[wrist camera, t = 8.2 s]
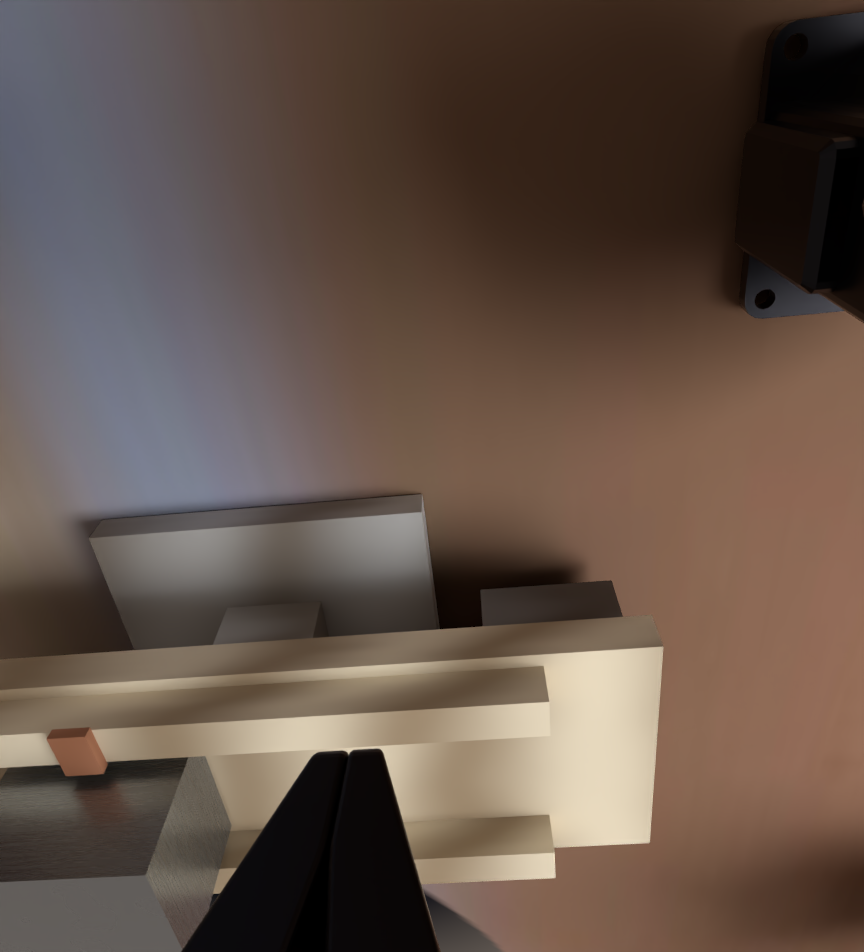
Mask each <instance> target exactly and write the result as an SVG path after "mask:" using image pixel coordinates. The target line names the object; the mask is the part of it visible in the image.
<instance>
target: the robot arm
mask: <svg viewBox="0 0 864 952" xmlns="http://www.w3.org/2000/svg"><path fill="white" fill-rule="evenodd" d="M794 34H796V35H797V36H798V37H799V38H800V44H801V46H800V49H799V52H798V53H797V55H796V56H795V57H794V58H792V59H790V60H788V59H787V58H786V56H785V55H784V46H785V43H786V41H787V40H788V39H789V37H790V36H791V35H794ZM735 243H736V244H737V245H738V246H739V247H740V248H741V249H742V250H743V251H744V255H743V265H742V274H741V284H740V293H739V300H740V305H741V306H742V308H743V309H744V310H745V311H746V312H747V313H748V314H749V315H751V316H753V317H755V318H762V319H763V318H774V317H784V316H795V315H806V314H817V313H827V312H838V311H846V312H847V313H849V314H851V315H852V316H854V317H855V318H857V319H858V320H860V321H861V322H863V323H864V12H858V13H849V14H841V15H832V16H824V17H816V18H807V19H799V20H791V21H788V22H785V23H782V24H781V25H780V26H779V27H777V28H776V29H775V30H774V31H773V32H772V34H771V36H770V37H769V39H768V41H767V45H766V48H765V55H764V65H763V74H762V84H761V93H760V103H759V112H758V122H755V123H754V124H753V125H752V126H751V128H750V129H749V130H748V131H747V132H746V134H745V138H744V149H743V159H742V169H741V179H740V189H739V200H738V210H737V220H736V230H735ZM765 289H769V293H770V294H769V296H768V299H767V300H766V301H765V302H764V303H761V304H758V305H757V304H755V301H754V300H755V297H756V295H757V294H758V293H759V292H760V291H762V290H765ZM181 952H441V951H440V948H439V944H438V941H437V937H436V934H435V930H434V927H433V923H432V920H431V917H430V913H429V909H428V906H427V902H426V899H425V895H424V892H423V888H422V885H421V882H420V878H419V875H418V871H417V868H416V864H415V861H414V857H413V854H412V850H411V847H410V843H409V840H408V836H407V833H406V829H405V826H404V822H403V819H402V815H401V812H400V808H399V805H398V802H397V798H396V795H395V791H394V788H393V784H392V781H391V777H390V774H389V770H388V767H387V763H386V760H385V756H384V753H383V751H382V750H381V749H378V748H374V749H357V750H352V751H351V752H350V753H349V754H348V753H347V752H346V751H343V750H340V751H323V752H317V753H316V754H314V755H313V756H312V757H311V758H310V760H309V761H308V763H307V764H306V766H305V767H304V769H303V770H302V771H301V773H300V774H299V776H298V777H297V779H296V780H295V782H294V783H293V785H292V786H291V788H290V789H289V791H288V792H287V794H286V795H285V797H284V798H283V800H282V801H281V803H280V804H279V806H278V807H277V809H276V810H275V812H274V813H273V815H272V816H271V818H270V819H269V821H268V822H267V824H266V825H265V827H264V828H263V830H262V831H261V833H260V834H259V836H258V837H257V839H256V840H255V842H254V843H253V845H252V846H251V848H250V849H249V851H248V852H247V854H246V855H245V857H244V858H243V860H242V861H241V863H240V864H239V866H238V867H237V869H236V870H235V872H234V873H233V875H232V876H231V878H230V879H229V881H228V882H227V884H226V885H225V887H224V888H223V890H222V891H221V893H220V894H219V896H218V897H217V899H216V900H215V902H214V903H213V905H212V906H211V908H210V909H209V910H208V912H207V913H206V915H205V916H204V918H203V919H202V921H201V922H200V924H199V925H198V927H197V928H196V930H195V931H194V933H193V934H192V936H191V937H190V939H189V940H188V942H187V943H186V945H185V946H184V948H183V949H182V951H181Z"/></svg>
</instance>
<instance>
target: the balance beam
mask: <svg viewBox="0 0 864 952" xmlns="http://www.w3.org/2000/svg"><path fill="white" fill-rule="evenodd" d="M89 540H90V543H91V545H92V548H93V550H94V553H95V555H96V558H97V560H98V563H99V565H100V567H101V570H102V572H103V575H104V577H105V580H106V582H107V585H108V587H109V590H110V592H111V594H112V597H113V599H114V602H115V604H116V607H117V609H118V612H119V614H120V617H121V619H122V621H123V624H124V626H125V629H126V631H127V634H128V636H129V639H130V641H131V644H132V646H133V649H134V650H131V651H116V652H101V653H87V654H72V655H57V656H43V657H28V658H13V659H0V780H1V779H2V777H3V775H4V774H5V772H6V770H7V769H8V768H9V767H26V766H44V765H60V766H61V768H62V770H63V772H64V774H65V776H80V775H97V774H104V772H105V769H106V767H107V765H108V764H107V762H112V761H129V760H147V759H164V758H181V757H198V756H205V757H206V759H207V762H208V765H209V767H210V770H211V772H212V775H213V778H214V780H215V783H216V786H217V788H218V791H219V794H220V796H221V799H222V801H223V804H224V807H225V809H226V812H227V815H228V817H229V820H230V823H231V825H232V826H231V830H230V833H229V837H228V841H227V844H226V848H225V851H224V855H223V859H222V862H221V866H220V870H219V873H218V877H217V880H216V884H215V888H214V891H213V894H216V893H221V891H222V890H223V888H224V887H225V885H226V884H227V882H228V881H229V879H230V878H231V876H232V875H233V873H234V872H235V870H236V869H237V867H238V866H239V864H240V863H241V861H242V860H243V858H244V857H245V855H246V854H247V852H248V851H249V849H250V848H251V846H252V845H253V843H254V842H255V840H256V839H257V837H258V836H259V834H260V833H261V831H262V830H263V828H264V827H265V825H266V824H267V822H268V821H269V819H270V818H271V816H272V815H273V813H274V812H275V810H276V809H277V807H278V806H279V804H280V803H281V801H282V800H283V798H284V797H285V795H286V794H287V792H288V791H289V789H290V788H291V786H292V785H293V783H294V782H295V780H296V779H297V777H298V776H299V774H300V773H301V771H302V770H303V769H304V767H305V766H306V764H307V763H308V761H309V760H310V758H311V757H312V756H313V755H314V754H316V753H317V752H323V751H340V750H343V751H346V752H347V753H348V754H349V753H350V752H351V751H352V750H357V749H374V748H378V749H381V750H382V751H383V753H384V756H385V760H386V763H387V767H388V770H389V774H390V777H391V781H392V784H393V788H394V791H395V795H396V798H397V802H398V805H399V808H400V812H401V815H402V819H403V822H404V826H405V829H406V833H407V836H408V840H409V843H410V847H411V850H412V854H413V857H414V861H415V864H416V868H417V871H418V875H419V878H420V882H421V884H435V883H457V882H479V881H501V880H523V879H544V878H555V853H554V848H556V847H577V846H597V845H618V844H639V843H650V830H651V816H652V801H653V787H654V773H655V759H656V744H657V730H658V716H659V701H660V687H661V673H662V658H663V644H662V642H661V639H660V636H659V633H658V631H657V628H656V625H655V622H654V620H653V617H652V615H643V616H629V617H623V616H622V613H621V609H620V606H619V603H618V600H617V597H616V593H615V590H614V587H613V584H612V581H611V580H610V581H596V582H582V583H568V584H554V585H540V586H526V587H512V588H498V589H484V590H480V591H481V606H482V622H483V626H482V627H467V628H453V629H440V627H439V619H438V612H437V604H436V596H435V588H434V581H433V573H432V565H431V557H430V550H429V542H428V534H427V526H426V519H425V511H424V503H423V495H422V494H418V495H405V496H393V497H380V498H368V499H356V500H343V501H331V502H318V503H306V504H293V505H281V506H269V507H256V508H244V509H231V510H219V511H206V512H194V513H182V514H169V515H157V516H144V517H132V518H119V519H107V520H102V521H101V522H100V524H99V525H98V526H97V528H96V529H95V530H94V532H93V533H92V534H91V536H90V537H89Z"/></svg>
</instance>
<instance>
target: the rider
mask: <svg viewBox="0 0 864 952" xmlns="http://www.w3.org/2000/svg"><path fill="white" fill-rule="evenodd" d="M107 764H108V765H107V767H106V769H105V772H104V774H97V775H80V776H65V774H64V772H63V770H62V768H61V766H60V765H44V766H26V767H9V768H8V769H7V770H6V772H5V774H4V775H3V777H2V779H1V780H0V952H181V951H182V949H183V948H184V946H185V945H186V943H187V942H188V940H189V939H190V937H191V936H192V934H193V933H194V931H195V930H196V928H197V927H198V925H199V924H200V922H201V921H202V919H203V918H204V916H205V915H206V913H207V912H208V909H209V906H210V902H211V898H212V895H213V891H214V888H215V884H216V880H217V877H218V873H219V870H220V866H221V862H222V859H223V855H224V851H225V848H226V844H227V841H228V837H229V833H230V830H231V826H232V825H231V823H230V820H229V817H228V815H227V812H226V809H225V807H224V804H223V801H222V799H221V796H220V794H219V791H218V788H217V786H216V783H215V780H214V778H213V775H212V772H211V770H210V767H209V765H208V762H207V759H206V757H205V756H198V757H181V758H164V759H147V760H129V761H112V762H107Z"/></svg>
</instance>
